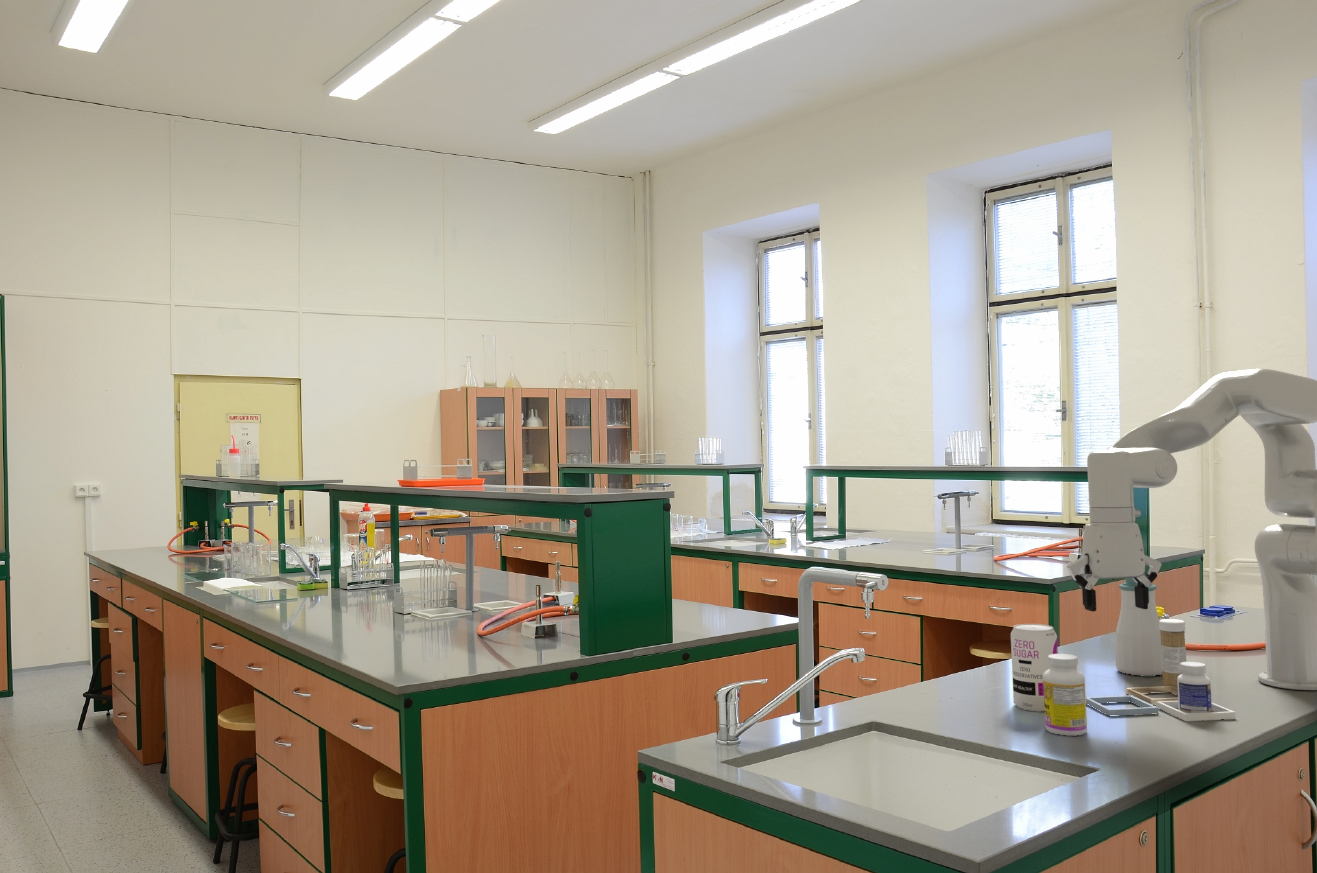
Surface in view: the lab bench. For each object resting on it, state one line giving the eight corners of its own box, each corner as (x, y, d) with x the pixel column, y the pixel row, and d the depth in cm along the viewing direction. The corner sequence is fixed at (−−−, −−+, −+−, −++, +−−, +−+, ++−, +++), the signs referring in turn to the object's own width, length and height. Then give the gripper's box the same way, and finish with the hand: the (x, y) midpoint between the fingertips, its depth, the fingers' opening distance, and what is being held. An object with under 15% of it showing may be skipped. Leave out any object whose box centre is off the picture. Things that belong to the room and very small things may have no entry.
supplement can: (1058, 702, 183) (1055, 623, 183) (1061, 714, 175) (1058, 631, 175) (1013, 700, 185) (1009, 622, 186) (1014, 711, 178) (1010, 630, 178)
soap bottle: (1117, 676, 202) (1112, 567, 202) (1114, 666, 211) (1109, 562, 211) (1170, 678, 198) (1164, 568, 199) (1164, 668, 207) (1159, 562, 208)
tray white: (1204, 705, 177) (1203, 699, 177) (1235, 719, 168) (1235, 712, 168) (1156, 708, 176) (1156, 701, 177) (1185, 721, 168) (1185, 714, 168)
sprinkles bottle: (1173, 684, 193) (1170, 617, 194) (1193, 689, 189) (1190, 620, 189) (1156, 687, 192) (1153, 619, 192) (1176, 691, 188) (1172, 623, 188)
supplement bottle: (1048, 724, 169) (1045, 651, 169) (1089, 728, 165) (1086, 653, 166) (1042, 734, 163) (1039, 658, 163) (1084, 739, 159) (1081, 661, 160)
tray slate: (1131, 701, 181) (1131, 695, 181) (1158, 714, 172) (1158, 707, 172) (1085, 704, 181) (1084, 697, 181) (1109, 716, 172) (1109, 710, 172)
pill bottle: (1216, 717, 169) (1214, 667, 169) (1184, 717, 170) (1181, 667, 170) (1205, 710, 174) (1203, 661, 174) (1174, 709, 175) (1172, 660, 176)
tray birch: (1171, 692, 187) (1171, 686, 187) (1199, 703, 178) (1199, 697, 178) (1126, 694, 187) (1126, 688, 187) (1152, 706, 178) (1151, 699, 178)
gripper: (1146, 513, 182) (1150, 604, 181) (1056, 517, 181) (1060, 608, 181) (1168, 516, 174) (1173, 610, 174) (1075, 519, 173) (1080, 614, 173)
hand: (1116, 609), depth 177 cm, fingers open, 9 cm apart
